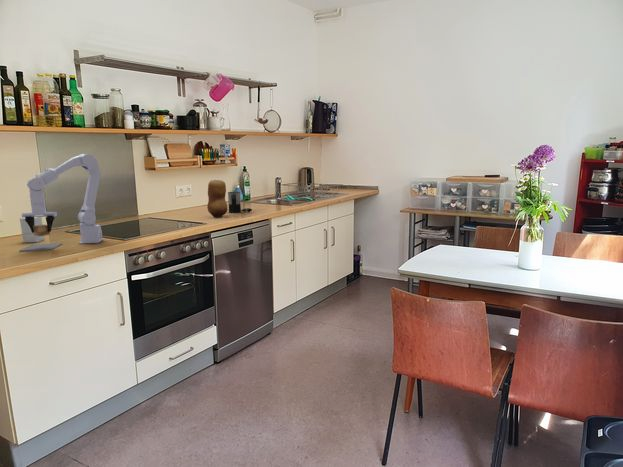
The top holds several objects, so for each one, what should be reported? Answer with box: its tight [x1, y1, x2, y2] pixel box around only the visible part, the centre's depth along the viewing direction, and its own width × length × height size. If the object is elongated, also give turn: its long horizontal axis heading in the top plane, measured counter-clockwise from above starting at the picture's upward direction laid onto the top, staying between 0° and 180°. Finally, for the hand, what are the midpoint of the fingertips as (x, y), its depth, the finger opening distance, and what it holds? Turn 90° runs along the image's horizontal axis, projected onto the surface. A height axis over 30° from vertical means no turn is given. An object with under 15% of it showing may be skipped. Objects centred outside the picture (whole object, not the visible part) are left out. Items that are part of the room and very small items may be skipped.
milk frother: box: [227, 191, 253, 214], centre depth 329 cm, size 14×16×15 cm
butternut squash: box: [206, 179, 229, 219], centre depth 306 cm, size 14×13×25 cm
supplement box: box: [19, 217, 45, 244], centre depth 235 cm, size 7×7×13 cm
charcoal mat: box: [18, 242, 63, 253], centre depth 220 cm, size 14×14×1 cm
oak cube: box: [33, 223, 51, 237], centre depth 216 cm, size 5×5×5 cm
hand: (41, 232), depth 217 cm, fingers closed on oak cube, 6 cm apart
